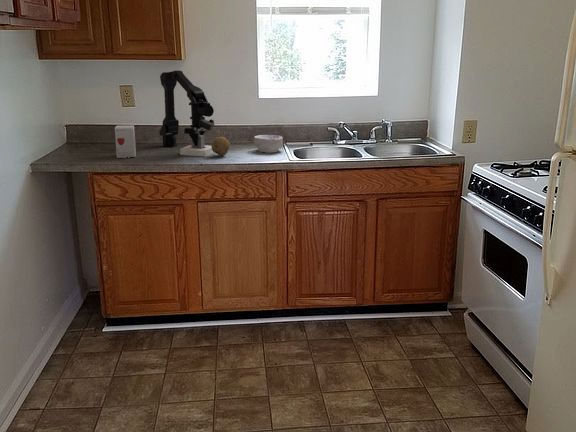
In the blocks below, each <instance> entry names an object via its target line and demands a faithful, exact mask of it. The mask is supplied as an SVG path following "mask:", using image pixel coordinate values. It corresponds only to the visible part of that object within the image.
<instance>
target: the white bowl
mask: <svg viewBox="0 0 576 432" xmlns="http://www.w3.org/2000/svg"><path fill="white" fill-rule="evenodd" d="M283 138H284V137H283V136H281V135H277V134H276V135H275V134H258V135H255V136H253V146H254V147H256V148H257V150H258V151H259V152H260V153H263V152H265V153H266V154H273V152H274V153H277V152H279V149H280V148H282V147H283V146H284V145H283V142H284V141H283ZM265 153H264V154H265Z"/></svg>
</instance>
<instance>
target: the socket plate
mask: <svg viewBox="0 0 576 432" xmlns="http://www.w3.org/2000/svg"><path fill="white" fill-rule="evenodd" d="M204 145H205V144H204ZM213 154H216V153H215V152H213V151H212V145H205V147H204V148H202V149H198V148H192V143H191V144H189V145H186V146H184V147H182V148H179V155H181V156H191V157H192V156H194V157H207V156H210V155H213Z"/></svg>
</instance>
